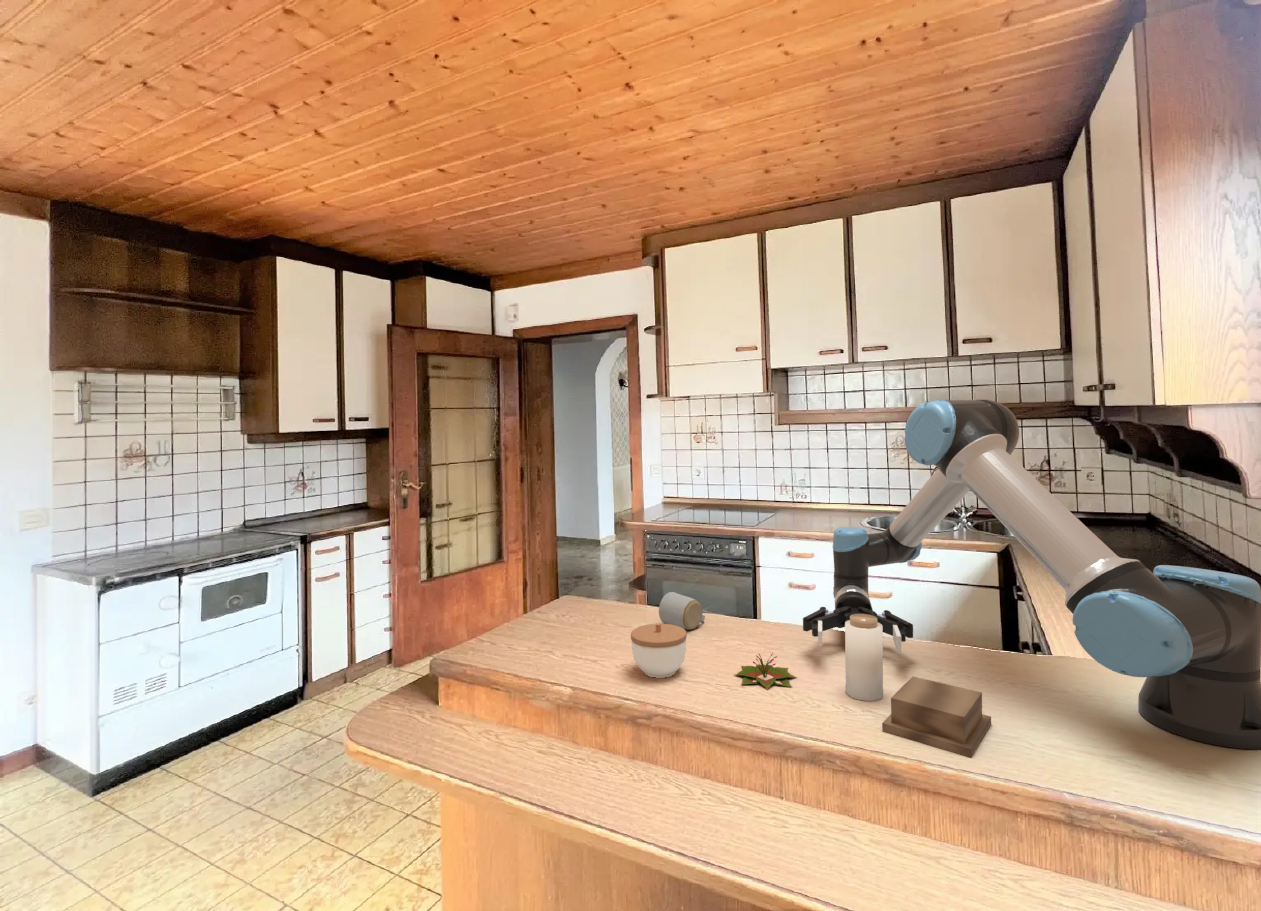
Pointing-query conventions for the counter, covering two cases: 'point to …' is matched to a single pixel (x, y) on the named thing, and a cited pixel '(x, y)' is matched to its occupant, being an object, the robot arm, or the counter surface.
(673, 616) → the ceramic mug
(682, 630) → the lidded jar
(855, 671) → the canister
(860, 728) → the counter surface
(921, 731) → the pedestal
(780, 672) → the lily flower
